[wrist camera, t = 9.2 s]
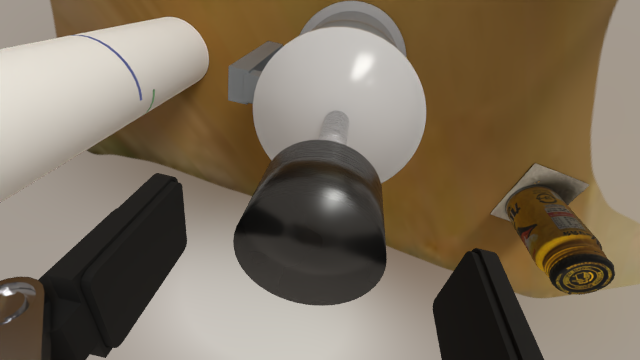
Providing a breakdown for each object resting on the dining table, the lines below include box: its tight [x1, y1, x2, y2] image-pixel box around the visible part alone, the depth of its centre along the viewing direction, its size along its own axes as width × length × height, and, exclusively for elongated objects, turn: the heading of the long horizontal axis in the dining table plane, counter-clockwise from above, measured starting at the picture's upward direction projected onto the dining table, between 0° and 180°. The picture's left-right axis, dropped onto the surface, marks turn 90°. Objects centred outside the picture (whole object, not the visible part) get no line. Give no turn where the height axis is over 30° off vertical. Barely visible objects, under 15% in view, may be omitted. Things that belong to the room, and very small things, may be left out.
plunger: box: [234, 110, 386, 305], centre depth 15 cm, size 5×5×11 cm
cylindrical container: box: [0, 17, 209, 203], centre depth 24 cm, size 7×7×25 cm
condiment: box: [491, 163, 615, 294], centre depth 34 cm, size 7×8×12 cm
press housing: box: [228, 1, 426, 183], centre depth 26 cm, size 14×12×16 cm
